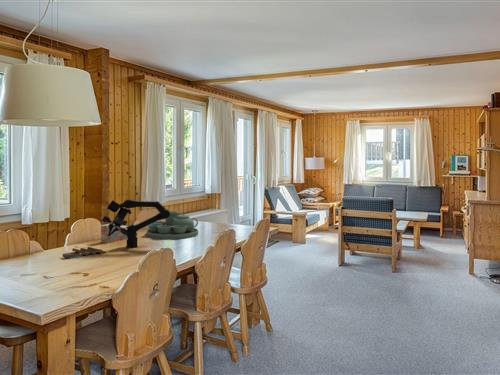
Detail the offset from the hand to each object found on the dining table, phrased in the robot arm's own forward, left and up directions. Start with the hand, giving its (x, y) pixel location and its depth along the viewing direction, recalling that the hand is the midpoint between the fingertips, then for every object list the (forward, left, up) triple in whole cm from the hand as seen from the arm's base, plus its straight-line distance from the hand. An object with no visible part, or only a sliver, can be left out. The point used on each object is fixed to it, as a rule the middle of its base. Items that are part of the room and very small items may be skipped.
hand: (108, 236), depth 277 cm
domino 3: (+8, +10, -8) cm, 15 cm away
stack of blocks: (-4, -32, -9) cm, 33 cm away
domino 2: (+13, +13, -8) cm, 19 cm away
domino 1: (+17, +15, -7) cm, 24 cm away
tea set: (-47, -48, -9) cm, 68 cm away
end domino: (+16, +14, -9) cm, 23 cm away
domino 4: (+4, +7, -8) cm, 11 cm away
